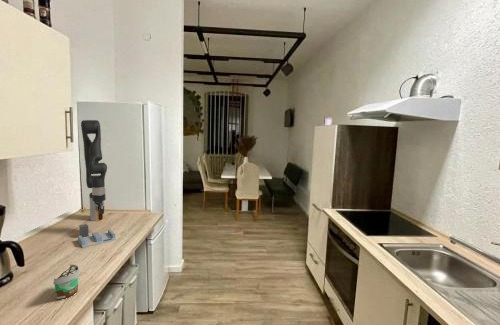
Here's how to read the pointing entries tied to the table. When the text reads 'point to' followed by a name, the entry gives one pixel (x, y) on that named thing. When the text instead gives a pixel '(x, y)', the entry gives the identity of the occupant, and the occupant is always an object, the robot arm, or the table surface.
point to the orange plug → (98, 216)
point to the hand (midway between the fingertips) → (99, 218)
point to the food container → (67, 283)
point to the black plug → (84, 230)
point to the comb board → (104, 237)
